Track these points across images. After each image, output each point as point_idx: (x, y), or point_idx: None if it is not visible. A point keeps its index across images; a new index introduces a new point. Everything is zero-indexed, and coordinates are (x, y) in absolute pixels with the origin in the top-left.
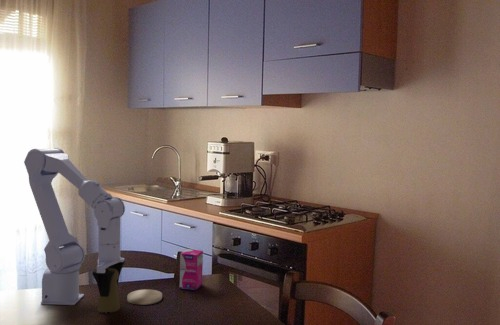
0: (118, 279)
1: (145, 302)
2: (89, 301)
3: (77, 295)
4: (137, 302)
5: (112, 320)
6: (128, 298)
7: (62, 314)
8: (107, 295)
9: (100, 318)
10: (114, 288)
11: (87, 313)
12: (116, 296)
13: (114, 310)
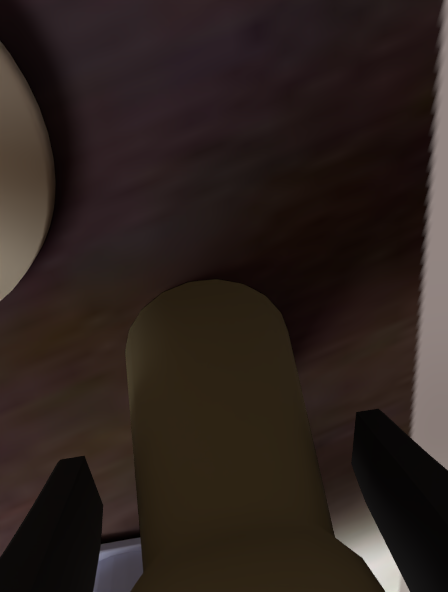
0: (40, 530)
1: (19, 79)
2: (119, 493)
3: (133, 574)
4: (49, 174)
5: (426, 237)
6: (8, 291)
7: (331, 506)
8: (389, 420)
9: (387, 325)
10: (279, 441)
11: (309, 422)
12: (244, 361)
13: (260, 297)
